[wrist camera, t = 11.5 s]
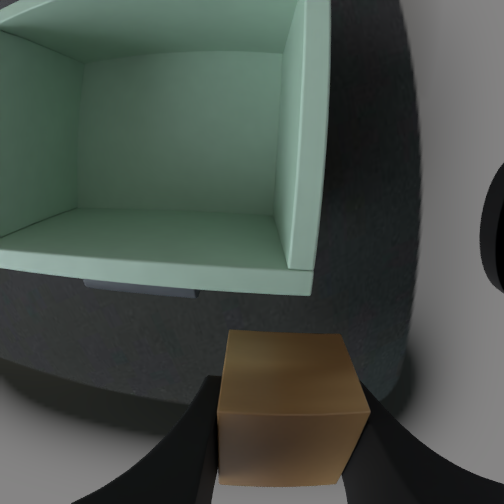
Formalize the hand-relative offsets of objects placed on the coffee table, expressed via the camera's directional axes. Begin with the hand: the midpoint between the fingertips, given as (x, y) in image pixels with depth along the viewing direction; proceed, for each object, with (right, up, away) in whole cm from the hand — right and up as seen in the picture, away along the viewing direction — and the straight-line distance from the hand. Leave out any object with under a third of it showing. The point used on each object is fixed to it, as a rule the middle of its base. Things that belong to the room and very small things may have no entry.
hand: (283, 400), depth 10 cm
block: (0, 0, +1) cm, 1 cm away
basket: (-5, +10, +3) cm, 11 cm away
